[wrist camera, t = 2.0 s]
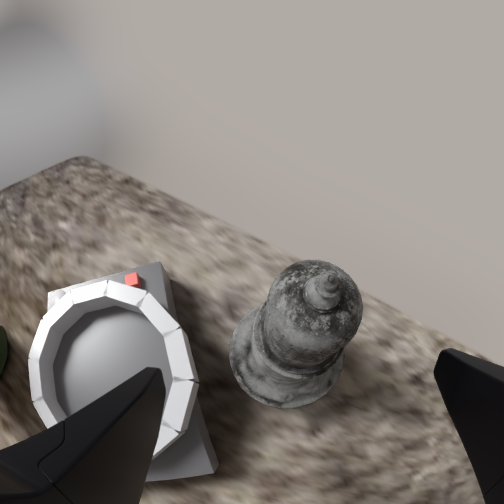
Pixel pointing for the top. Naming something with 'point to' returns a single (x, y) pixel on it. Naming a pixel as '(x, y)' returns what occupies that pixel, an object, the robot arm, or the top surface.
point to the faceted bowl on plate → (122, 361)
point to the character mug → (2, 348)
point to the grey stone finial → (297, 335)
